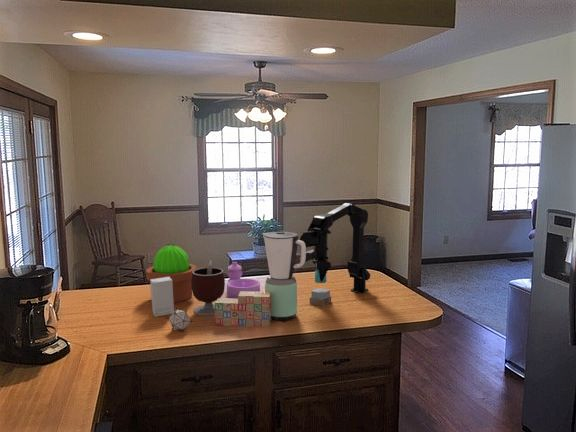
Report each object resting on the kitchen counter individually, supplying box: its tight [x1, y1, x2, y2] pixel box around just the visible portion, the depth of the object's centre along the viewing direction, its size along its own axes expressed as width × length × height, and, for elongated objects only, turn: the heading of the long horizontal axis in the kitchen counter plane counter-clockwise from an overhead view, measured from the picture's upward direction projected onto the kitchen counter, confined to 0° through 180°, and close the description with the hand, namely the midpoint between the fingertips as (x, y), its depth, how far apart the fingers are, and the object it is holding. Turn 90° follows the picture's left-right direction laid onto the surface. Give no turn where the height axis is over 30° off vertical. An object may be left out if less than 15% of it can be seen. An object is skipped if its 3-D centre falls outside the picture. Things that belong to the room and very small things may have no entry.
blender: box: [261, 231, 307, 322], centre depth 198 cm, size 19×13×35 cm
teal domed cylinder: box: [314, 268, 327, 284], centre depth 217 cm, size 5×5×5 cm
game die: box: [166, 307, 193, 333], centre depth 186 cm, size 9×8×10 cm
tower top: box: [310, 287, 331, 300], centre depth 218 cm, size 6×6×3 cm
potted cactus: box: [145, 244, 198, 303], centre depth 225 cm, size 22×22×25 cm
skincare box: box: [150, 277, 175, 317], centre depth 204 cm, size 8×6×15 cm
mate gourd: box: [191, 259, 226, 316], centre depth 208 cm, size 16×14×20 cm
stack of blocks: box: [214, 291, 272, 328], centre depth 193 cm, size 21×6×12 cm, turn 86°
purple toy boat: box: [226, 261, 261, 299], centre depth 231 cm, size 25×15×13 cm, turn 23°
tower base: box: [309, 295, 332, 307], centre depth 218 cm, size 7×7×3 cm
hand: (320, 279), depth 217 cm, fingers closed on teal domed cylinder, 5 cm apart
